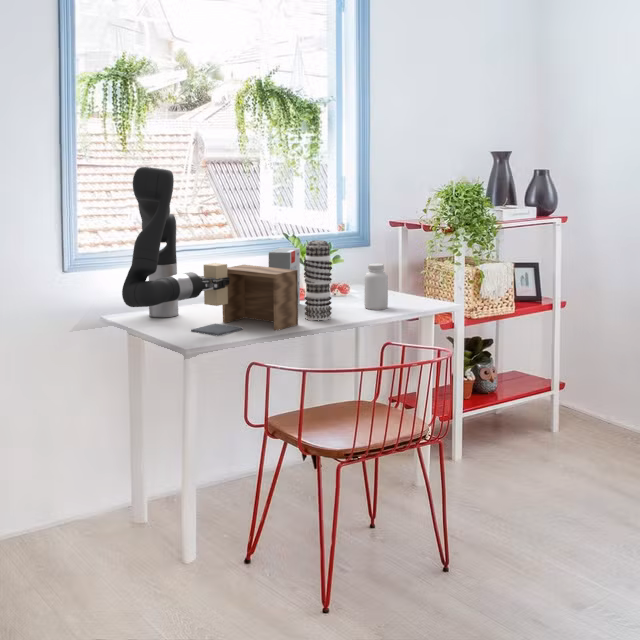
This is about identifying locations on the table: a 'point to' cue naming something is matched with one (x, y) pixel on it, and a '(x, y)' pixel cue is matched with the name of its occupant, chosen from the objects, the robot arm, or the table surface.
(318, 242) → the decorative candle
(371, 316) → the table surface
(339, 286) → the table surface
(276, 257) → the hard drive box
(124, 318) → the table surface
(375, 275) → the pill bottle
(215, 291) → the block
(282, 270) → the cubby
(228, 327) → the mat
